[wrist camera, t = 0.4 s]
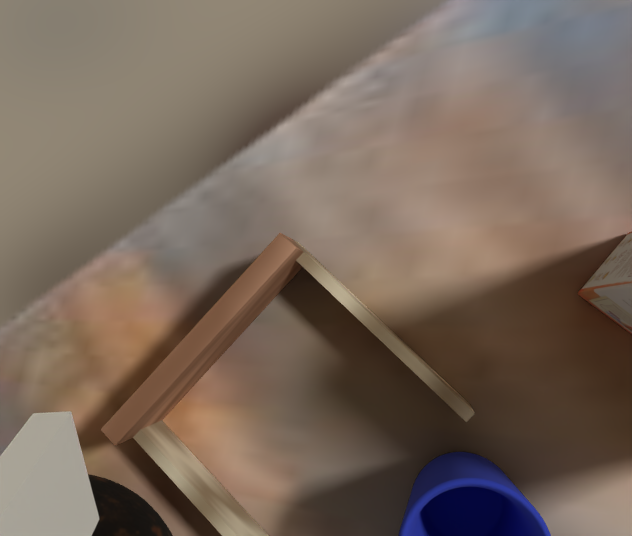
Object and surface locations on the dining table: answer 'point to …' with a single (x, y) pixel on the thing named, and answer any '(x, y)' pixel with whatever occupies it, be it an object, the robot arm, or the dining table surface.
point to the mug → (468, 501)
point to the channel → (206, 348)
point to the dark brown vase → (124, 511)
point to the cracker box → (613, 285)
